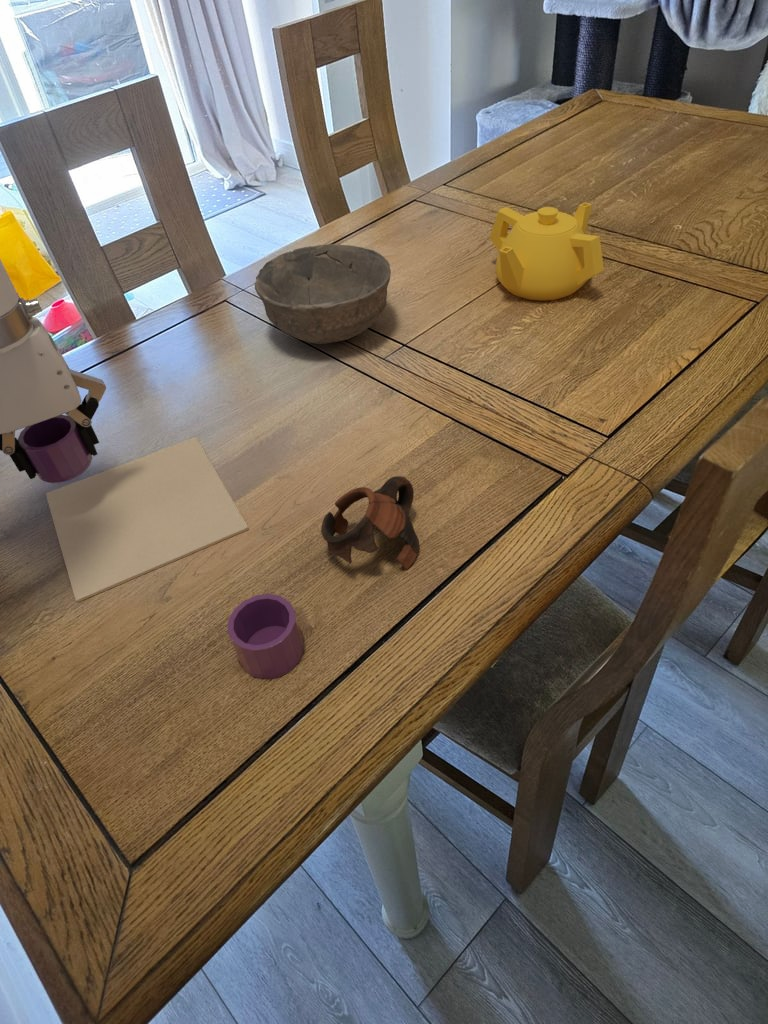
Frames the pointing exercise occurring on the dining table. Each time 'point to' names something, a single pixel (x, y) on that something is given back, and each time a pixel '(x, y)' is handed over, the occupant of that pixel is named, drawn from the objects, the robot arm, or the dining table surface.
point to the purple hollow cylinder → (266, 636)
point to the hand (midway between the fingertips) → (62, 459)
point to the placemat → (141, 517)
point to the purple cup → (55, 449)
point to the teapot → (545, 252)
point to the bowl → (324, 291)
